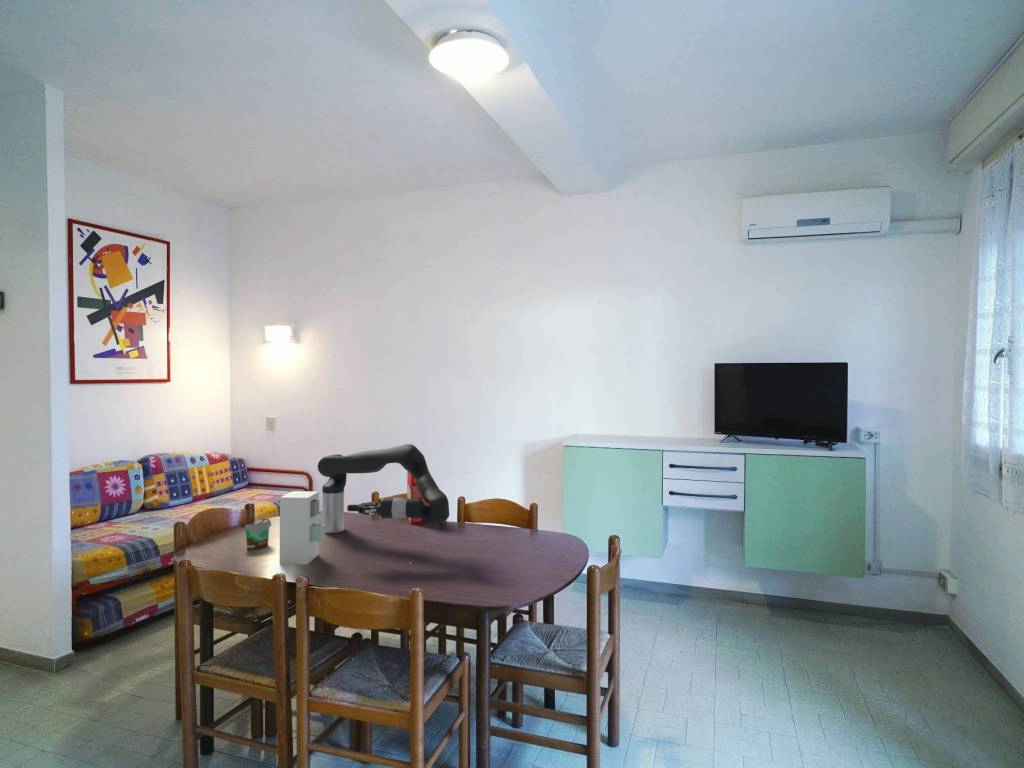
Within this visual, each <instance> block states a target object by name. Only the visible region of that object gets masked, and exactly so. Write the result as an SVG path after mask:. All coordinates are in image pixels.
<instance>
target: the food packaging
mask: <svg viewBox="0 0 1024 768" xmlns="http://www.w3.org/2000/svg"><path fill="white" fill-rule="evenodd" d="M406 471H407V470H406ZM406 475H407V476H406V477H407V478H406V479H407V482H406V484H407V486H406V487H407V488H406V489H407V490H406V497H407V499H421V500H422V501H423V497H422V496H421V494H420V492H419V490H418V487H417V481H416V479H415V478H414V476H413V475H412V474H411V473H410V472H409V471H407V473H406ZM407 520H408V521H409V523H410V525H417V524H418V525H419V524H423V519H420V518H407Z"/></svg>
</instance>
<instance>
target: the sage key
mask: <svg viewBox="0 0 1024 768" xmlns="http://www.w3.org/2000/svg"><path fill="white" fill-rule="evenodd" d="M325 536H326V533H325V524H322V523H321V524H320V523H318V524H313V525H312V526H310V541H318V542H321V541H322V540H324V539H325Z"/></svg>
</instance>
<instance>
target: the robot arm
mask: <svg viewBox="0 0 1024 768" xmlns="http://www.w3.org/2000/svg"><path fill="white" fill-rule="evenodd" d="M388 464H399V465H400V466H402V467H403V468H404V470H406V471H409V472H410V473H411V474H412V475H413V476H414V478H415V479H416V481H417V487H418V490H419V492H420V494H421V496H422V500H421V499H407V498H404V497H382V498H381V501H380V502H378V501H376V500H375V501H369V502H361V503H359V504H348V505H347V506H346V507H347V508H346V509H347V512H357V514H362V515H366V516H370V515H377V514H380V518H382V519H397V520H399V519H408V518H420V519H422V521H428V522H432V523H443V522H445V521H447V520H448V519H449V517H450V506H449V505H450V503H449V498H448V497H447V495H446V494H445V493H444V492H443V491H442V490H441V489H440V487H439V486H438V485H437V483H436V481H435V480H434V478H433V476H432V475H431V473H430V470H429V468H428V464H427V461H426V458H425V456H424V454H423V453H422V452H421V450H419V449H418V448H417V446H415V445H414V444H408V443H407V444H402V445H397V446H393V447H390V448H384V449H383V448H382V449H374V450H366V451H365V450H364V451H359V452H356V453H351V454H347V455H342V454H331V455H326V456H323V457H322V458H320V460H319V461H318V463H317V471H318V472H319V474H320V475H322V476H323V477H326V478H328V480H327V481H326V483H324V484H323V485H322V487H321V489H322V490H321V491H322V493H321V495H322V497H321V501H322V503H321V524H325V534H336V533H341V532H343V531H344V530H345V526H344V525H345V487H346V485H347V474H371V473H378V472H380V471H381V470H383V469H384V468H385V467H386V465H388ZM424 502H425V503H427V504H428V505H429V506H428V505H426V504H425V503H424Z"/></svg>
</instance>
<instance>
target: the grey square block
mask: <svg viewBox="0 0 1024 768" xmlns="http://www.w3.org/2000/svg"><path fill="white" fill-rule="evenodd" d="M318 514H320V499H319V500H313V501H311V516H314V517H315V516H316V515H318Z"/></svg>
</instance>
